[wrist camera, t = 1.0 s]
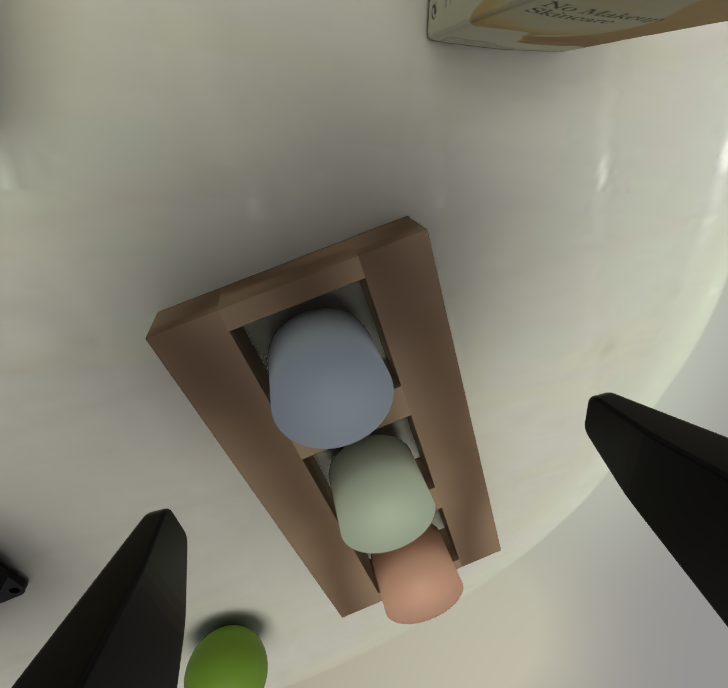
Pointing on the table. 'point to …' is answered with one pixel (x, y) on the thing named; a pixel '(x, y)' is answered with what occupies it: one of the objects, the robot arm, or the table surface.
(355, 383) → the slate button
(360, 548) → the sage button
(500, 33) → the skincare box
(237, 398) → the wooden compartment tray
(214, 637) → the snail figurine
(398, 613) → the terracotta button
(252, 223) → the table surface
